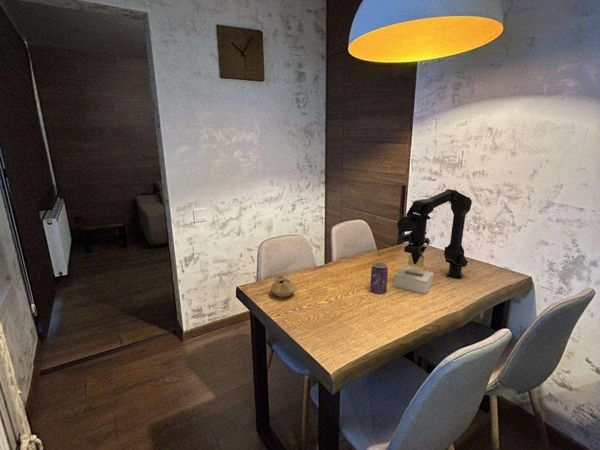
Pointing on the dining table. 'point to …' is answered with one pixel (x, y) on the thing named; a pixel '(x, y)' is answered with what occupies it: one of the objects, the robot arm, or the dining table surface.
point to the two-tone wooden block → (419, 262)
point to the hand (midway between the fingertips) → (415, 263)
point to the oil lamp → (283, 287)
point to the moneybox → (413, 280)
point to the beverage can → (379, 277)
